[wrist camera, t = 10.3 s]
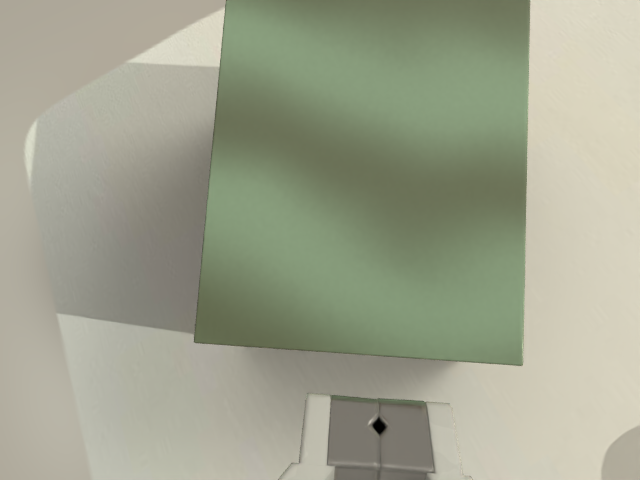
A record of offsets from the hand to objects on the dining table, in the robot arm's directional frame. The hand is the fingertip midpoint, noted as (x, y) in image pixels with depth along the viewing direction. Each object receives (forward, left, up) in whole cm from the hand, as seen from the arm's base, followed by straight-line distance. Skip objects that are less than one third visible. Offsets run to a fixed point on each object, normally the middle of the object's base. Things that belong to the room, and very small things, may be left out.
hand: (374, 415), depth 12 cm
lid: (+4, +8, -11) cm, 15 cm away
